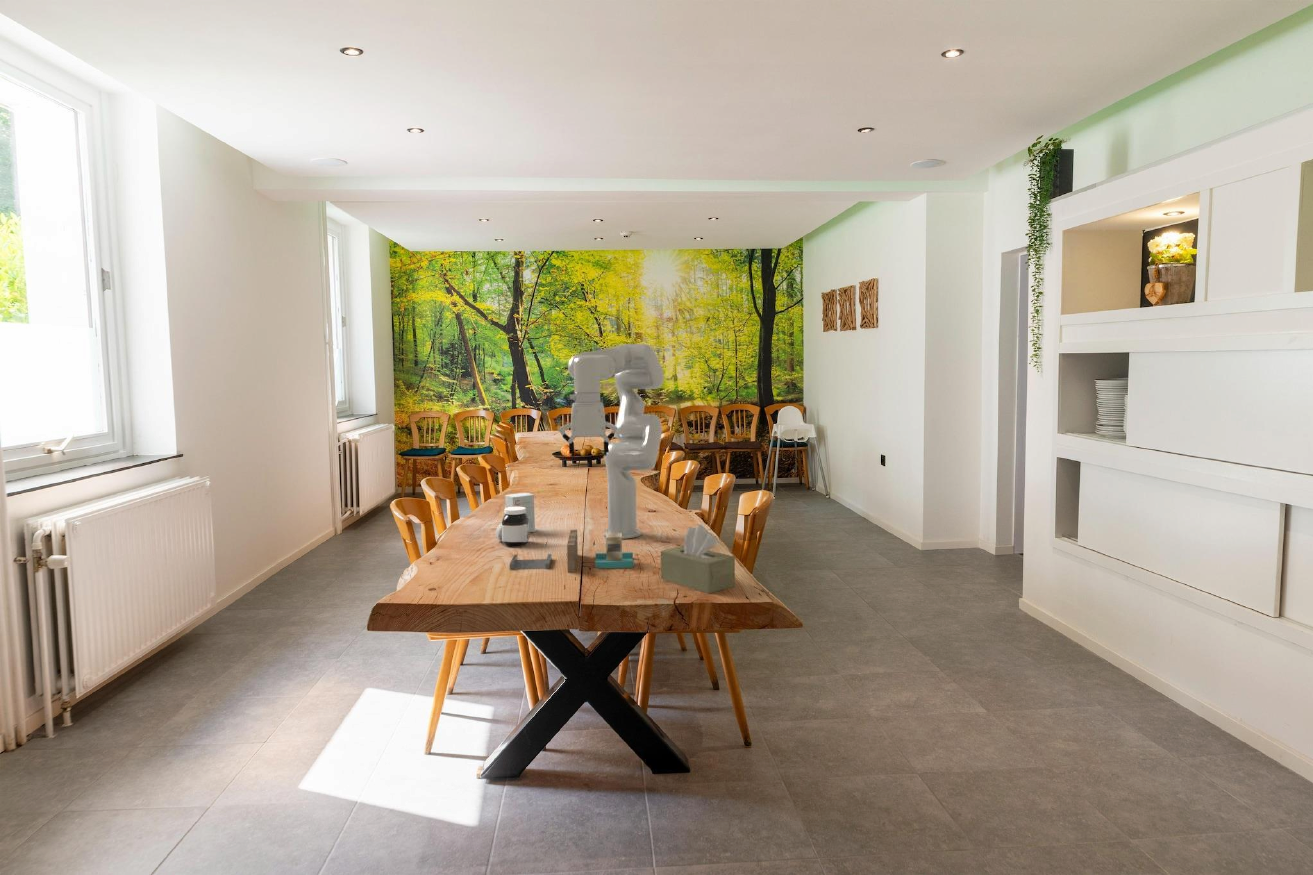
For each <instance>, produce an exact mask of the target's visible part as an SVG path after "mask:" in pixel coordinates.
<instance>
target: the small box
mask: <svg viewBox="0 0 1313 875" xmlns="http://www.w3.org/2000/svg"><path fill="white" fill-rule="evenodd" d="M504 502H505V505H504V506H505V508H508V507H525V508H526V514H527V516H528V518H529V533H532V532H533V533H534V532H535V531H536V522H535V518H536V517H535V495H534V494H533V493H529V492H518V493H511V494H505V495H504ZM505 508H504V509H505Z"/></svg>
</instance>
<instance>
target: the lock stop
mask: <svg viewBox="0 0 1313 875" xmlns="http://www.w3.org/2000/svg"><path fill="white" fill-rule="evenodd" d="M605 546H606V547H605V548H606V549H605V553H606V561H622V552H623V539H622V533H606V536H605Z"/></svg>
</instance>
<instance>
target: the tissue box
mask: <svg viewBox="0 0 1313 875" xmlns="http://www.w3.org/2000/svg"><path fill="white" fill-rule="evenodd" d="M718 542H719V538H717V537H715V535H713V533H711V532H709V531H708V529H707V528H706V527H705V526H703V525H702V524H700V523H699V524H697V525H696V527H695V528H694V527H691V526H690V527H688V528H687V530H686V533H685V538H684V545H680V546H676V547H673V548H668V549H663V550H661V551H660V580H661V579H663V580H662V581H664V580H665V582H668V581H669V583H671V584H674V583H675V585H678V586H681V585H682V586H681V587H685V586H686V587H685V588H688V587H689V588H688V589H691V588H693V589H692V590H694V591H695V590H696V591H698V590H699V592H703V593H705V594H713V593H716V592H720V591H724V590H726V589H730V588H734V587H735V586H736V584H735V582H736V581H735V579H736V576H735V575H736V573H735V572H736V571H735V570H736V569H735V568H736V567H735V566H736V563H735V562H736V560H735V558H736V557H735V556H734V555H730V554H725V553H722V552H717V551H713V550H711V549H712V548H713V547H715V546H716V545H717V543H718Z"/></svg>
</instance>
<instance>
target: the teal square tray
mask: <svg viewBox="0 0 1313 875" xmlns="http://www.w3.org/2000/svg"><path fill="white" fill-rule="evenodd" d="M634 563H635V561H634V552H633V551H627V552H624V551H622V561H606V552H595V561H594V568H596V569H597V568H599V569H628V568H629V569H631V568H632V569H633V568H634V566H635V564H634Z"/></svg>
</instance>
